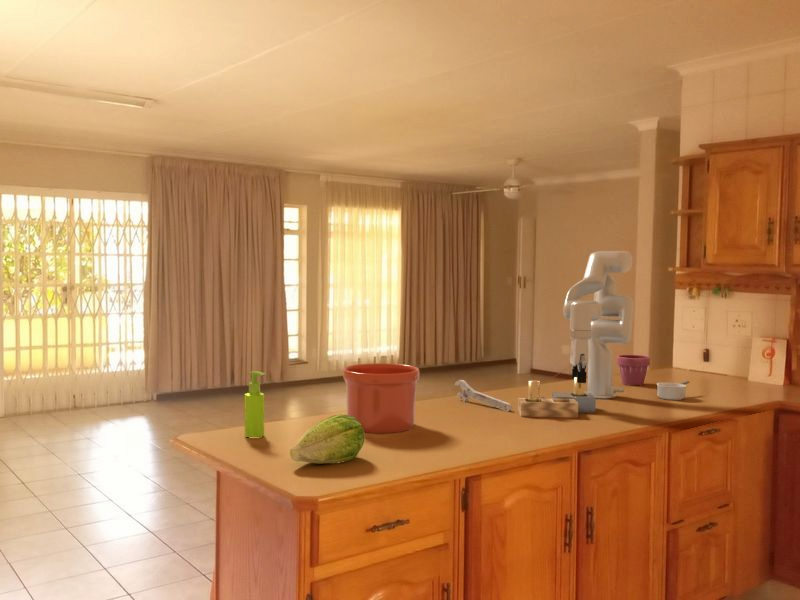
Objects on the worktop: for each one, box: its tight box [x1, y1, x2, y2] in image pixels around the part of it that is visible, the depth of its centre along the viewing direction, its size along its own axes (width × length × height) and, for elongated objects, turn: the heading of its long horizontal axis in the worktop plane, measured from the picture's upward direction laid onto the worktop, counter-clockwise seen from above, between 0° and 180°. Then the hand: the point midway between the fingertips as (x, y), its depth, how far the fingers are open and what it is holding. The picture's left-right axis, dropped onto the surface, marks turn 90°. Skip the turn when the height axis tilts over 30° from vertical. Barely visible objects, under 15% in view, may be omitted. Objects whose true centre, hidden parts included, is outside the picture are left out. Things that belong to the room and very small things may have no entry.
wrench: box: [454, 379, 513, 412], centre depth 271 cm, size 8×2×30 cm
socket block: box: [551, 391, 597, 414], centre depth 264 cm, size 14×10×6 cm
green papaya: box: [289, 414, 365, 465], centre depth 190 cm, size 13×22×14 cm
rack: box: [517, 397, 579, 418], centre depth 255 cm, size 20×8×5 cm, turn 87°
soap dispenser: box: [244, 371, 267, 437], centre depth 217 cm, size 6×7×20 cm
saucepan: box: [656, 380, 691, 401], centre depth 292 cm, size 12×20×6 cm, turn 131°
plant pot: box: [616, 354, 651, 386], centre depth 322 cm, size 14×14×13 cm
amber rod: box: [527, 379, 541, 402], centre depth 255 cm, size 4×4×12 cm
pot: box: [342, 362, 420, 434], centre depth 233 cm, size 25×25×19 cm
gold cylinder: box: [573, 377, 586, 396], centre depth 264 cm, size 4×4×12 cm
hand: (578, 381), depth 263 cm, fingers open, 9 cm apart
